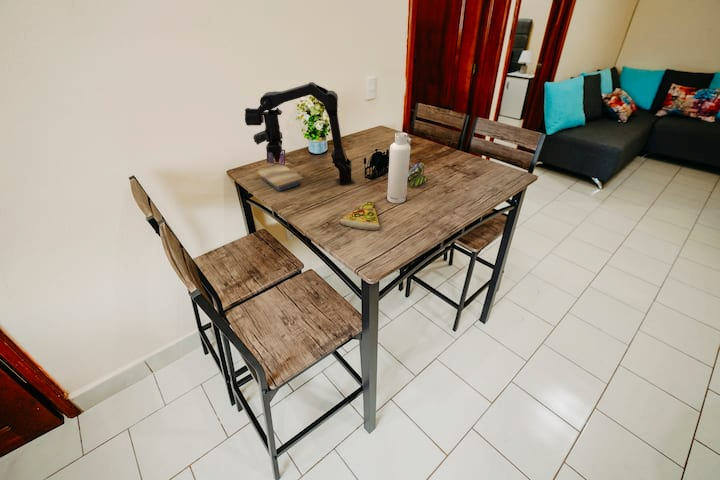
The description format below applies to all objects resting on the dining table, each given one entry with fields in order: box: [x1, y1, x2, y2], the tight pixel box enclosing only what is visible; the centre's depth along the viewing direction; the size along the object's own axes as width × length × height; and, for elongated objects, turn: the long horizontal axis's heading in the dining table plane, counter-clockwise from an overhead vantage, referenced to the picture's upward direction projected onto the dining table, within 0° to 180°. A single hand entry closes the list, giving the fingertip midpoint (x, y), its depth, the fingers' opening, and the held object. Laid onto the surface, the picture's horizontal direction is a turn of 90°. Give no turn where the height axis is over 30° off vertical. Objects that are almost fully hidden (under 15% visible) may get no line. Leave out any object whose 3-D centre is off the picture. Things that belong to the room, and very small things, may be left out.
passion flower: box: [407, 162, 429, 188], centre depth 156 cm, size 11×11×12 cm
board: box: [256, 164, 304, 188], centre depth 156 cm, size 20×13×1 cm, turn 40°
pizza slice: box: [340, 200, 381, 231], centre depth 133 cm, size 16×21×3 cm
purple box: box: [266, 149, 286, 166], centre depth 151 cm, size 7×5×9 cm
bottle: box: [386, 131, 412, 204], centre depth 137 cm, size 8×8×28 cm
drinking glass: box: [407, 136, 412, 146], centre depth 180 cm, size 7×7×10 cm
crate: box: [262, 177, 300, 192], centre depth 157 cm, size 16×10×3 cm, turn 40°
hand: (277, 160), depth 151 cm, fingers closed on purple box, 4 cm apart
